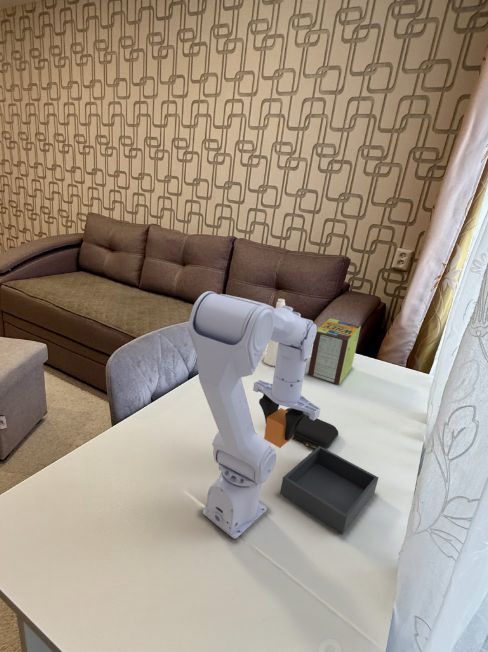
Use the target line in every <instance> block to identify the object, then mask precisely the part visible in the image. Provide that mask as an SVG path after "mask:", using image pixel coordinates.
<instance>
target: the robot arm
mask: <svg viewBox="0 0 488 652" xmlns="http://www.w3.org/2000/svg"><path fill="white" fill-rule="evenodd" d="M186 329H187V331H188V334H189V337H190V340H191V343H192V345H193V348H194V350H195V353H196V359H197V371H198V373H197V374H198V381H199V384H200V386H201V389H202V392H203V394H204V397H205V399H206V401H207V404H208V407H209V410H210V412H211V414H212V417H213V420H214V423H215V425H216V427H217V431H218V432H217V433H216V434H215V436H214V438H213V440H212V443H211V445H212V448H213V450H212V455H213V457H212V458H213V461H214V463H216V464H218V470H219V472H220V474H219V476H218V477H217V480H215V482H214V483H213V484H212V485H210V487H209V488H208V491H207V500H206V507H205V508H204V509H203V510H202V514H203V515H204V516H205V517H206V518H208V519H209V520H210V521H211V522H212V523H213V524H215V525H216V527H218V528H220V529H221V530H222V531H223V532H225V533H226V534H227V535H229V537H230V538H232V539H234V540H236V539H238V538H239V537H240V536H241V535H242V533H243V532H245V531H246V530H247V529H248V528H249V527H250V526H252V525H253V523H254V522H255V521H257V520H258V519H259V518H260V517H261V516H262V515H263V514H264V513H265V512H266V511H267V510H268V508H267V506H265V505H264V504H262V503H261V502H260V494H261V488H262V484H264V483H266V482H267V481H268V480H269V478H270V477H271V475H272V473H273V471H274V468H275V465H276V461H277V454H276V450H275V448H272V447H271V443H270V442H269V441H267V440H265V439H264V437H262V436H261V435H259V434H258V433H257V432H256V430H255V426H254V422H253V418H252V414H251V410H250V405H249V402H248V399H247V394H246V391H245V387H244V383H243V378H245V377H248V376H252V375H254V373H255V371H256V369H257V367H258V366H259V363H261V359H262V357H263V355H264V353H265V351H266V349H267V347H268V343H269V341H270V339H271V340H272V341H275V342H276V343H277V342H278V343H279V344H278V350H277V357H276V364H275V366H274V370H273V371H274V372H273V378H272V383H270V382H267V381H264V380H261V379H259V380H256V381H254V382H253V388H252V391H253V392H256V393H258V392H259V393H261V394H262V397H261V398H259V400H258V404H259V407H261V410H262V412H263V416H264V421H265V423H266V422H267V417H268V416H269V415H271V414H272V413H274V412H276V411H277V410H279V409H280V406H282V407H286V408H292V410H290V411H288V412H287V413H285V417H286V430H285V440H287V441H288V440H289V439H291V438H292V437H293V435H294V432H295V430H296V428H297V426H298V425H299V423H300V422H301V420H302V419H303V418H304V417H305V416H306V415H308V416H309V418H310V419H311V420H313V421H314V420H315V419H319V418H320V412H321V407H319V406H317V405H315V403H312V402H311V401H310V400H309V399H307V398H306V397H304V395H302V389H303V385H304V379H305V374H306V373H305V372H306V367H307V360H308V358H309V357H311V354H312V348H313V343H314V340H315V337H316V333H317V329H318V326H317V324H316V323H314V321H313V320H312V319H308V318H304V317H302V316H301V313H300V312H298V311H297V312H296V311H294V308H293V307H292V306H288V305H286V304H285V305H283V306H282V308H276V307H274V306H272V305H269V304H267V303H264V302H260V301H257V300H256V301H255V300H252V299H249V298H245V297H239V296H234V295H229V294H226V293H225V294H223V293H220V294H218V293H217V292H215V291H212V290H209V291H208V290H207V291H205V292H203V293H202V294H201V295H200V296H199V297H198V298H197V299H196V301H195V302H194V304H193V306H192V309H191V313H190V315H189V319H188V323H187V325H186ZM292 439H293V438H292ZM292 439H291V440H292ZM288 442H289V441H288Z"/></svg>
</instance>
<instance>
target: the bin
mask: <svg viewBox="0 0 488 652" xmlns="http://www.w3.org/2000/svg"><path fill="white" fill-rule="evenodd" d="M378 481H379V476H377V475H375V474H373V473H371V472H370V471H367V470H365V469H364V468H362V467H361V466H358V465H356V464H355V463H353V462H351V461H349V460H347V459H345V458H344V457H341V456H339V455H337V454H336V453H334V452H332V451H330V450H328V449H324V448H322V447H321V446H318V447H317V448H316V449H315V448H314V450H313V451H311V453H309V454H308V455H307V456H306V457H304V458H303V459H302V460H301V461H300V462H298V463H297V465H295V466H294V467H293V468H291V470H290V471H289V472H287V473H286V474H285V475H284V476H283V477H282V480H281V486H280V493H279V494H280V495H281V496H283V497H284V498H286V499H287V500H289V501H291V502H292V503H294V504H295V505H297V506H298V507H300V508H301V509H303V510H304V511H306V512H307V513H309V514H310V515H312V516H313V517H315V518H316V519H318V520H319V521H321V522H322V523H324V524H325V525H327V526H328V527H330V528H331V529H333V530H334V531H336V532H337V533H339V534H340V535H344V533H345V532H346V531H347V529H348V528H349V527H350V526H351V525H352V523H353V522H354V520H356V518H357V516H358V515H359V514H360V513H361V511H363V509H364V508H365V506H366V505H367V504H368V502H369V501H370V500H371V498H372V497H373V495H374V494H375V491H376V488H377V485H378Z"/></svg>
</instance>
